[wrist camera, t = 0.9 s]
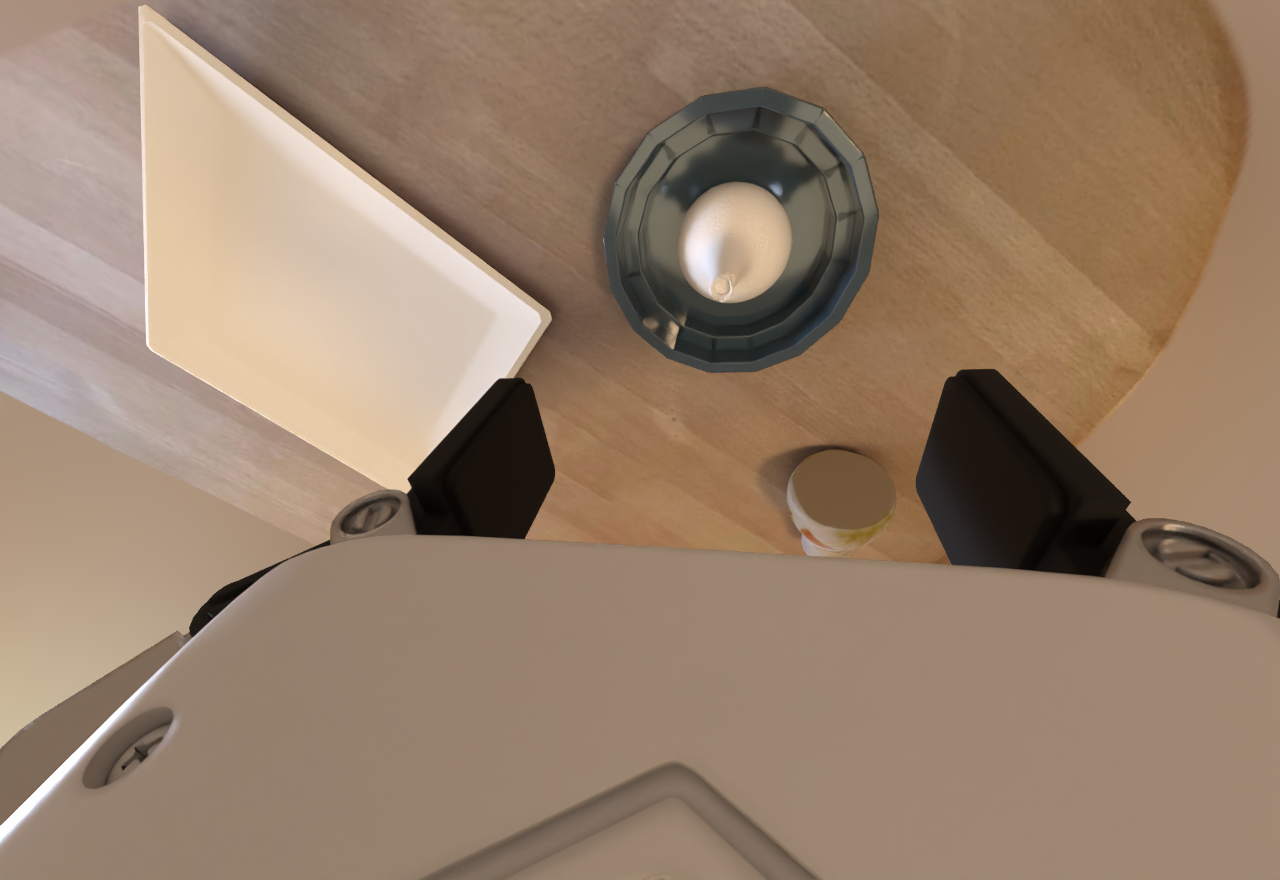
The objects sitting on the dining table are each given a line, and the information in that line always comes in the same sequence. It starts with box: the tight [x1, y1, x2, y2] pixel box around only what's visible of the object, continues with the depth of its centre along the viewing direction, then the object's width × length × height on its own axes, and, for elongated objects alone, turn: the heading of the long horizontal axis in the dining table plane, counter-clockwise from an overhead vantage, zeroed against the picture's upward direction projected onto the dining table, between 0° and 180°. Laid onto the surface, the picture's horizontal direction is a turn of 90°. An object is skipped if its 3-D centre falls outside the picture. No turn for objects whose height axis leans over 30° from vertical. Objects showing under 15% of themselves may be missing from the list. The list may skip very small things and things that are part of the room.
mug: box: [786, 449, 896, 558], centre depth 34 cm, size 8×10×10 cm
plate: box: [138, 5, 552, 494], centre depth 35 cm, size 26×26×2 cm
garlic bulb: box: [677, 182, 792, 303], centre depth 23 cm, size 6×6×8 cm
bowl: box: [603, 87, 879, 373], centre depth 25 cm, size 14×14×4 cm
